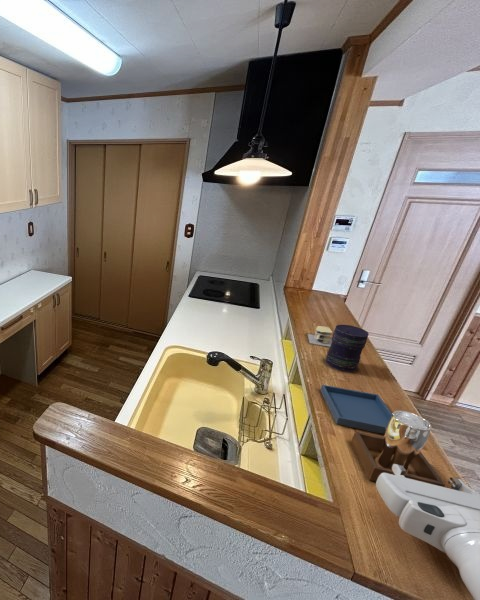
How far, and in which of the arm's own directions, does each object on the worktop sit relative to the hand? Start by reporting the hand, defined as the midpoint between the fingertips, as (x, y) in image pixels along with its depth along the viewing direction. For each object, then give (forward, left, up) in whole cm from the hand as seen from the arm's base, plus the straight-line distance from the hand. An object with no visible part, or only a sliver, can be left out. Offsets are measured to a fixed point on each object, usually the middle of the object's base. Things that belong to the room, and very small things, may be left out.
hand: (424, 473), depth 69 cm
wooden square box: (0, -10, -9) cm, 13 cm away
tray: (0, -32, -9) cm, 33 cm away
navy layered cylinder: (-4, -62, -9) cm, 62 cm away
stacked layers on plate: (-2, -82, -9) cm, 83 cm away
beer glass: (0, -10, -9) cm, 13 cm away
